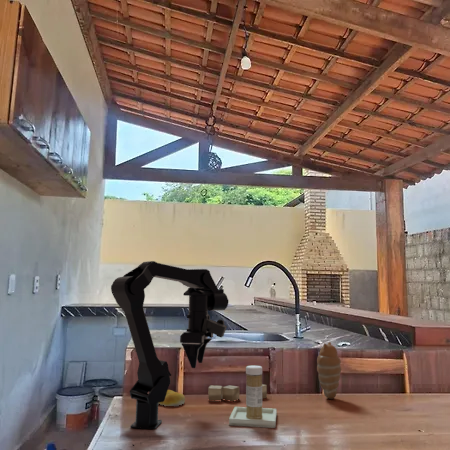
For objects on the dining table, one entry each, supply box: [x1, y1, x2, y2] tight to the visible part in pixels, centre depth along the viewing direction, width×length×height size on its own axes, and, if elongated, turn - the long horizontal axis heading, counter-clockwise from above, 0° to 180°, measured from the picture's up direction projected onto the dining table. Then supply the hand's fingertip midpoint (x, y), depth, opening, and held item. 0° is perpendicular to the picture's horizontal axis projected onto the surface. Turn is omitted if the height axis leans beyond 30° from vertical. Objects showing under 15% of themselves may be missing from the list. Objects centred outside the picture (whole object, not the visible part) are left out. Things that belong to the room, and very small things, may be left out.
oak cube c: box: [262, 383, 268, 399], centre depth 136 cm, size 4×4×4 cm
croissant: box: [316, 341, 342, 400], centre depth 136 cm, size 9×8×18 cm
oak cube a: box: [207, 385, 223, 401], centre depth 132 cm, size 4×4×4 cm
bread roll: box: [158, 389, 186, 407], centre depth 127 cm, size 8×9×4 cm
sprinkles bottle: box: [245, 364, 263, 419], centre depth 111 cm, size 5×5×14 cm
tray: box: [228, 406, 278, 429], centre depth 111 cm, size 12×12×2 cm
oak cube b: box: [222, 385, 240, 402], centre depth 132 cm, size 4×4×4 cm
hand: (197, 365), depth 119 cm, fingers open, 9 cm apart
